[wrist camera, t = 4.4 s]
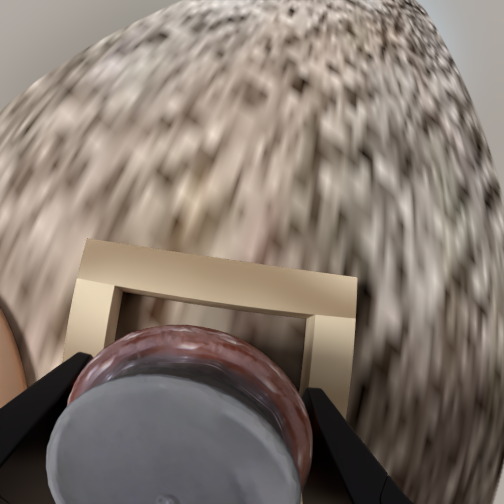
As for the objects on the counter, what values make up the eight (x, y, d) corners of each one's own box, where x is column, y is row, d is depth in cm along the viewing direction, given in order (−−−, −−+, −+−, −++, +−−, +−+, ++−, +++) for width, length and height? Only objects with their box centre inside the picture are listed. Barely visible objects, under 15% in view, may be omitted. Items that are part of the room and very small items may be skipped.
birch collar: (316, 519, 12) (324, 531, 11) (68, 484, 12) (57, 493, 10) (345, 284, 17) (357, 277, 15) (96, 248, 16) (86, 238, 14)
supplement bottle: (221, 316, 15) (234, 223, 5) (288, 416, 14) (425, 510, 4) (117, 376, 14) (-49, 395, 3) (184, 476, 13) (146, 639, 2)
